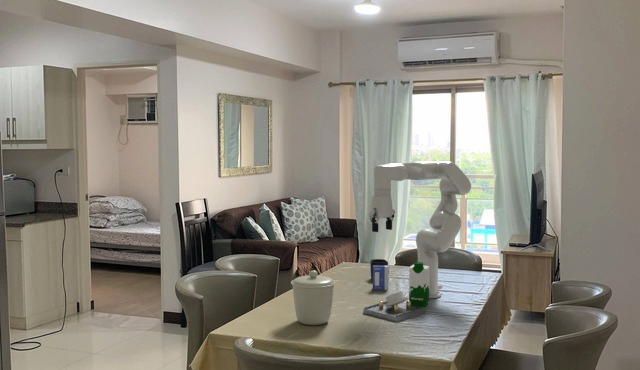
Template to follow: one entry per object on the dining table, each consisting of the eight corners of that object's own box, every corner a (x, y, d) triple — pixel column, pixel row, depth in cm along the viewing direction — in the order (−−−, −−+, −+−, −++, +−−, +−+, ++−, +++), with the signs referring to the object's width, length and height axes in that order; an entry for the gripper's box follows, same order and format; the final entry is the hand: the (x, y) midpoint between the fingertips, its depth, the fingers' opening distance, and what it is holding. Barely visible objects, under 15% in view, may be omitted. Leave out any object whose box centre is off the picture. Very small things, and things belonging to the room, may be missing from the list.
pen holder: (391, 278, 334) (391, 260, 334) (383, 282, 326) (383, 263, 326) (375, 276, 339) (375, 258, 339) (367, 279, 331) (367, 261, 331)
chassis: (392, 304, 281) (392, 293, 280) (425, 312, 268) (426, 301, 268) (363, 313, 267) (363, 301, 266) (396, 321, 254) (396, 309, 253)
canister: (320, 331, 241) (320, 277, 240) (282, 323, 251) (282, 272, 250) (343, 319, 257) (343, 269, 255) (306, 313, 266) (306, 264, 265)
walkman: (372, 289, 309) (372, 265, 308) (372, 288, 312) (372, 264, 311) (388, 290, 309) (388, 266, 308) (388, 288, 311) (388, 265, 310)
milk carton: (407, 308, 275) (407, 263, 274) (411, 303, 283) (411, 259, 282) (427, 310, 272) (427, 264, 271) (430, 304, 281) (431, 260, 279)
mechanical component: (406, 301, 271) (385, 309, 270) (403, 291, 272) (381, 299, 271) (410, 298, 261) (387, 306, 260) (406, 288, 263) (384, 296, 262)
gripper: (387, 191, 288) (387, 228, 289) (363, 193, 276) (363, 231, 277) (401, 192, 283) (400, 229, 284) (376, 194, 270) (376, 233, 272)
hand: (382, 230), depth 280 cm, fingers open, 9 cm apart
